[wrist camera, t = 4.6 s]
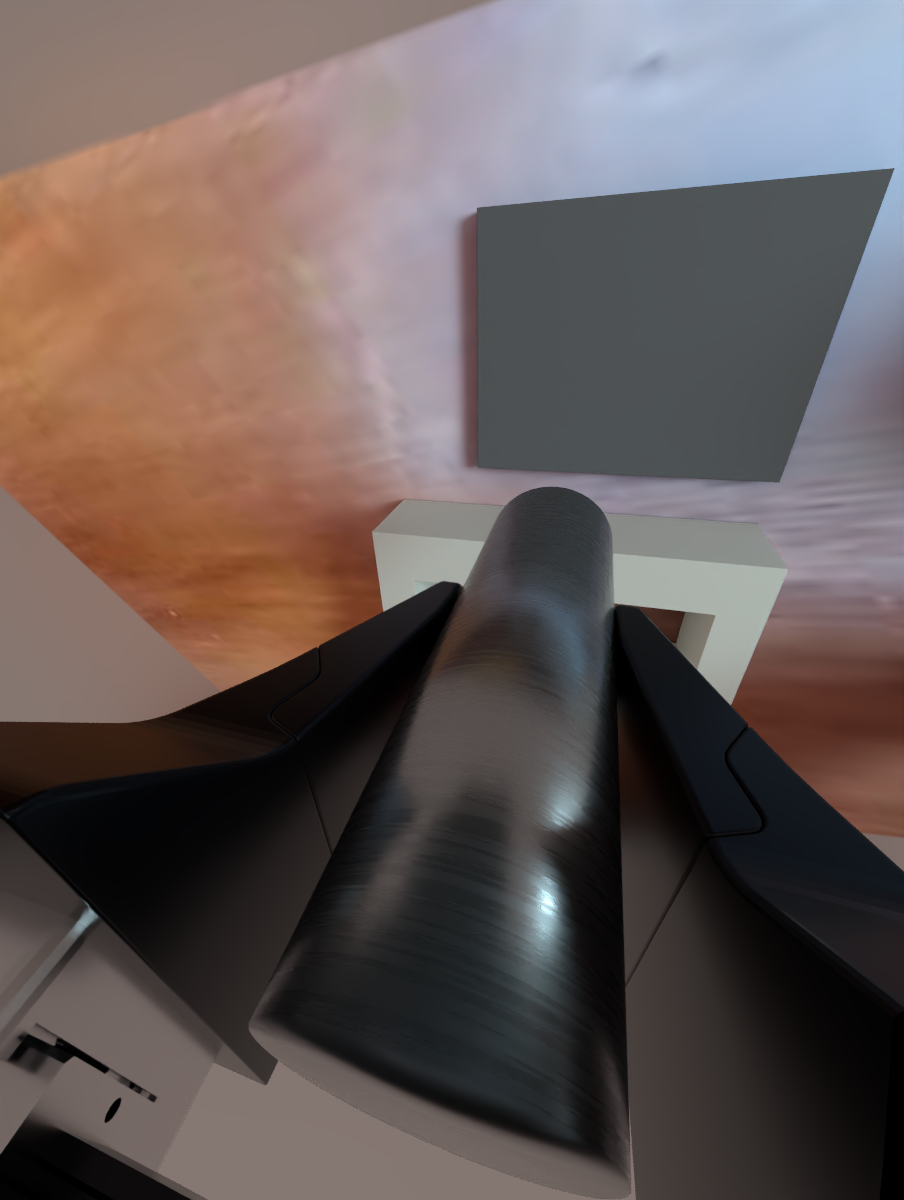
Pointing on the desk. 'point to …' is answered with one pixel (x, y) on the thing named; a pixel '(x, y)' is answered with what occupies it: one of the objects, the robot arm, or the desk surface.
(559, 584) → the peg
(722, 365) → the mat
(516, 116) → the desk surface
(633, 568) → the hole block
